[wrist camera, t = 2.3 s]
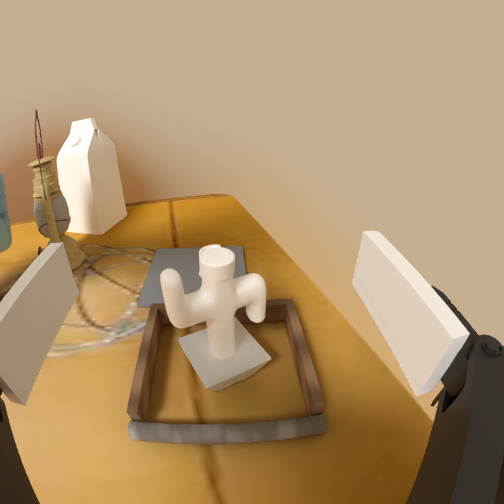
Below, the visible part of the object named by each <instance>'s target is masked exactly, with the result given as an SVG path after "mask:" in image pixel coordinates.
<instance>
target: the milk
mask: <svg viewBox="0 0 504 504" xmlns="http://www.w3.org/2000/svg"><path fill="white" fill-rule="evenodd" d="M57 167H58V177H59V186H60V187H61V188H60V190H61V191H62V192H63V193H62V194H63V196H64V197H65V199H66V202H67V205H68V208H69V215H70V217H71V221H70V224H69V228H68V230H67V232H76V233H85V234H95V235H102V234H104V233H105V232H106V231H107V230H109V229H110V228H111V227H113V226H114V225H115V224H117V223H118V222H119V221H120V220H122V219H123V218H124V217H126V216H127V211H126V206H125V201H124V197H123V191H122V186H121V181H120V175H119V169H118V163H117V157H116V150H115V146H114V144H113V142H112V141H111V140H110V139H109V138H108V137H107V136H106V135H105V134H103V133H102V132H101V131H100V130H99V129H98V127H97V125H96V122H95V120H94V118H89V119H84V120H80V121H75V122H72V127H71V132H70V135H69V137H68V138H67V140H66V142H65V143H64V145H63V147H62V148H61V150H60V152H59V154H58V157H57ZM69 219H70V218H69Z"/></svg>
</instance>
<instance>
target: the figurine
mask: <svg viewBox="0 0 504 504" xmlns="http://www.w3.org/2000/svg"><path fill="white" fill-rule="evenodd" d="M199 266H200V271H199V276H200V277H201V278H202V285H201V287H200V289H199V290H197V291H195V292H192V293H189V294H186V295H184V290H183V283H182V279H181V276H180V274H179V273H178V272H177V271H176V270H174V269H171V268H168V269H165V270H163V271H162V273H161V275H160V282H161V287H162V292H163V297H164V302H165V307H166V311H167V315H168V317H169V320H170V321H171V323H172V324H173V325H174V326H175V327H177V328H187V327H190V326H192V325H195V324H198V323H201V322H204V321H206V325H207V328H206V329H203V330H200V331H197V332H195V333H192V334H189V335H186V336H184V337H181V338H178V339H177V341H178V342H179V344H180V346H181V348H182V349H183V351H184V353H185V355H186V356H187V358H188V360H189V361H190V363H191V365H192V366H193V368H194V370H195V371H196V373H197V375H198V376H199V378H200V379H201V381H202V383H203V384H204V386H205V387H206V389H209V390H212V391H215V392H217V391H219V390H221V389H224V388H226V387H228V386H230V385H233V384H235V383H237V382H239V381H241V380H244V379H246V378H248V377H250V376H252V375H253V374H254V373H255V372H257V371H258V370H259V369H260V368H261V367H263V366H264V365H265V364H266V363H267V362H268V361H270V360H271V359H272V358H271V357H270V356H269V355H268V353H267V352H266V351H265V350H264V349H263V348H262V347H261V346H260V345H259V343H258V342H257V341H256V340H255V339H254V338H253V337H252V336H251V334H250V333H249V332H248V331H247V330H246V329H245V328H244V326H243V325H242V324H241V323H240V322H239V321H238V320H237V318H236V317H235V318H234V315H235V312H236V310H237V309H238V308H241V307H244V306H246V314H247V316H248V318H249V319H250V320H251V321H253V322H255V323H260V322H262V321H263V320H264V319H265V311H266V284H265V281H264V279H263V278H262V277H261V276H260V275H259V274H256V273H250V274H247V275H244V276H241V277H238V278H235V279H233V275H234V270H235V254H234V253H233V252H232V251H231V250H229V249H227V248H223V247H221V246H220V245H219V244H215V245H208V246H205V247H203V248H201V249H200V251H199Z"/></svg>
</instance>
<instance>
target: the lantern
mask: <svg viewBox="0 0 504 504" xmlns="http://www.w3.org/2000/svg"><path fill="white" fill-rule="evenodd" d="M36 118H37V120H38V115H37V110H36ZM38 124H39V120H38ZM39 129H40V124H39ZM35 137H36V147H37V136H36V119H35ZM40 138H41V130H40ZM41 146H42V139H41ZM39 154H40V159H39ZM39 154H38V147H37V155H38V160H36V161H34V162H32V163H30V164H29V167H32V166H33V172H35V176H36V178H34V179H33V183H34V188H33V189H34V195H33V197H35V198H34V199H35V201H34V203H35V204H34V214H35V220H36V223H37V226H38V228H39V229H38V231H40V233H41V232H42V233H41V234H42V235H44V237H47V238H50V241H49V242H48V245H49V244H50V243H61V242H63V244H64V248H65V251H66V255H67V258H68V261H69V264H70V268H71V271H72V270H74V269H76V268H77V267H79V266H80V265H81V264H82V262H83V261H84V260H85V254H84V252H83V251H81V250H80V248H79V244H78V243H77V242H76V241H75V240H74V239H73V238H71V237H70V236H68V235H65V234H64V232H66V231H67V230H68V228H69V224H70V221H71V217H70V215H69V208H68V205H67V202H66V199H65V197H64V196H63V194H62V193H63V192H62V191H61V190H60V188H61V187H60V186H59V185H58V181H57V180H56V176H55V172H51V166H52V163H51V160H53V159H54V157H45V158H44V157H43V148H42V156H41V148H40V144H39ZM42 157H43V158H42ZM69 218H70V219H69ZM48 245H47V246H48ZM43 250H44V249H41V247H39V250H38V256H39V255H40V254H41V253H42V252H43Z"/></svg>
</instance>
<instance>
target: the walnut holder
mask: <svg viewBox="0 0 504 504" xmlns="http://www.w3.org/2000/svg"><path fill="white" fill-rule="evenodd" d="M235 317H236V318H237V320H238V321H239V322H240V323H241V324H250V323H255V322H253V321H251V320H250V319H249V318H248V316H247V314H246V306H244V307H241V308H238V309H237V310H236V312H235V315H234V318H235ZM283 321H284V323H285V327H286V331H287V335H288V339H289V343H290V346H291V350H292V354H293V358H294V362H295V366H296V370H297V374H298V378H299V381H300V385H301V389H302V393H303V397H304V401H305V405H306V409H307V413H308V416H307V417H300V418H292V419H284V420H275V421H265V422H252V423H235V424H169V423H153V422H146V420H147V412H148V405H149V398H150V391H151V385H152V378H153V372H154V366H155V360H156V355H157V349H158V344H159V338H160V333H161V328H162V326H174V325H173V324H172V323H171V321H170V320H169V317H168V315H167V311H166V307H165V303H152V304H151V307H150V311H149V315H148V319H147V323H146V326H145V330H144V334H143V338H142V343H141V347H140V351H139V355H138V360H137V364H136V368H135V373H134V378H133V383H132V387H131V392H130V397H129V403H128V408H127V413H128V415H129V416H130V418H131V419H132V421H130V423H129V427H128V433H129V437H130V439H131V440H137V441H146V442H158V443H174V444H238V443H254V442H266V441H275V440H284V439H292V438H299V437H306V436H312V435H317V434H323V433H326V431H327V422H326V418H325V416H324V414H322V412H323V410H324V408H325V402H324V398H323V395H322V392H321V388H320V385H319V382H318V379H317V375H316V372H315V369H314V366H313V362H312V359H311V356H310V353H309V350H308V346H307V343H306V340H305V337H304V334H303V331H302V327H301V324H300V321H299V318H298V315H297V312H296V309H295V306H294V303H293V300H292V299H277V300H266V311H265V319H264V320H263V321H262V322H260V323H268V322H283ZM195 325H206V321H204V322H201V323H198V324H195Z"/></svg>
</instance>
